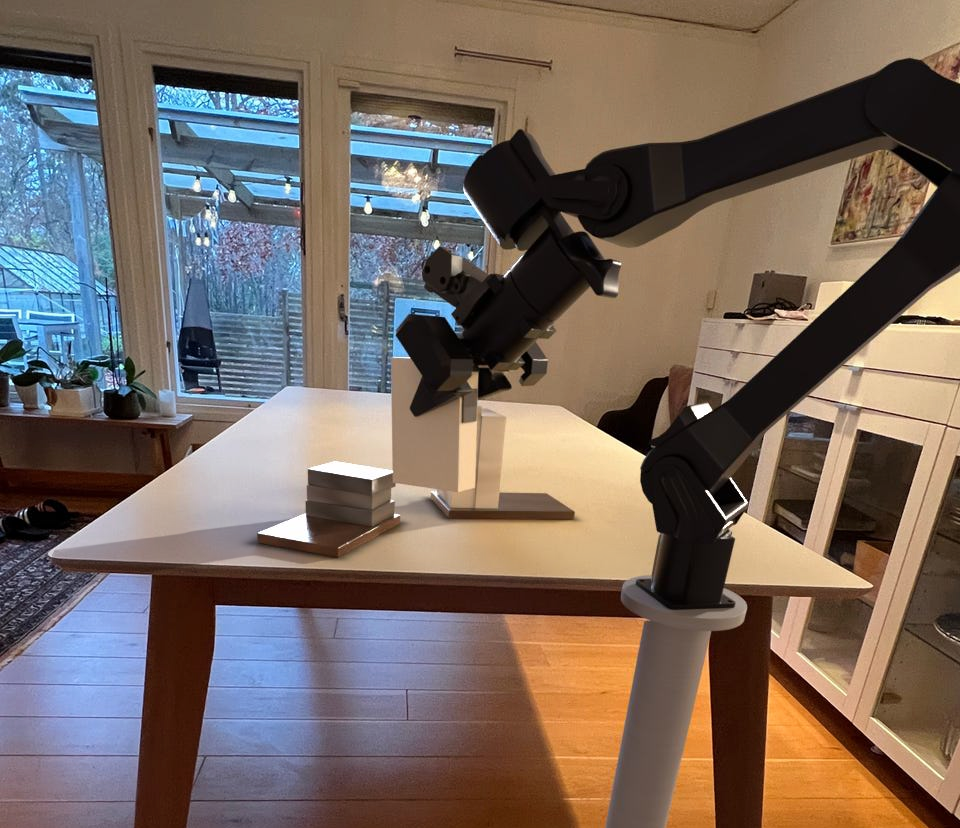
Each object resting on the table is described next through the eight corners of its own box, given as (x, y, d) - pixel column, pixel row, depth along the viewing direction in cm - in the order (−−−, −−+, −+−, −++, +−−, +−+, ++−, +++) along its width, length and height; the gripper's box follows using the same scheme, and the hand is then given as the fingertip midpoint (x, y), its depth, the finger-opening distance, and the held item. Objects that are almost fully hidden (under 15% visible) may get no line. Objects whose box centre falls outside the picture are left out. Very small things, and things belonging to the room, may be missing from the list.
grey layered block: (400, 523, 83) (402, 470, 80) (338, 557, 70) (338, 495, 67) (330, 511, 85) (330, 459, 83) (257, 542, 72) (254, 481, 69)
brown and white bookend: (574, 519, 91) (588, 413, 86) (448, 518, 87) (455, 406, 81) (545, 500, 100) (557, 403, 95) (430, 498, 95) (436, 396, 90)
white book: (476, 488, 72) (480, 360, 68) (459, 492, 70) (462, 360, 65) (411, 478, 76) (410, 357, 71) (392, 482, 73) (390, 357, 69)
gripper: (533, 233, 69) (433, 346, 78) (419, 197, 54) (313, 342, 64) (596, 328, 69) (488, 430, 78) (499, 318, 54) (381, 446, 63)
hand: (423, 411), depth 71 cm, fingers closed on white book, 3 cm apart
